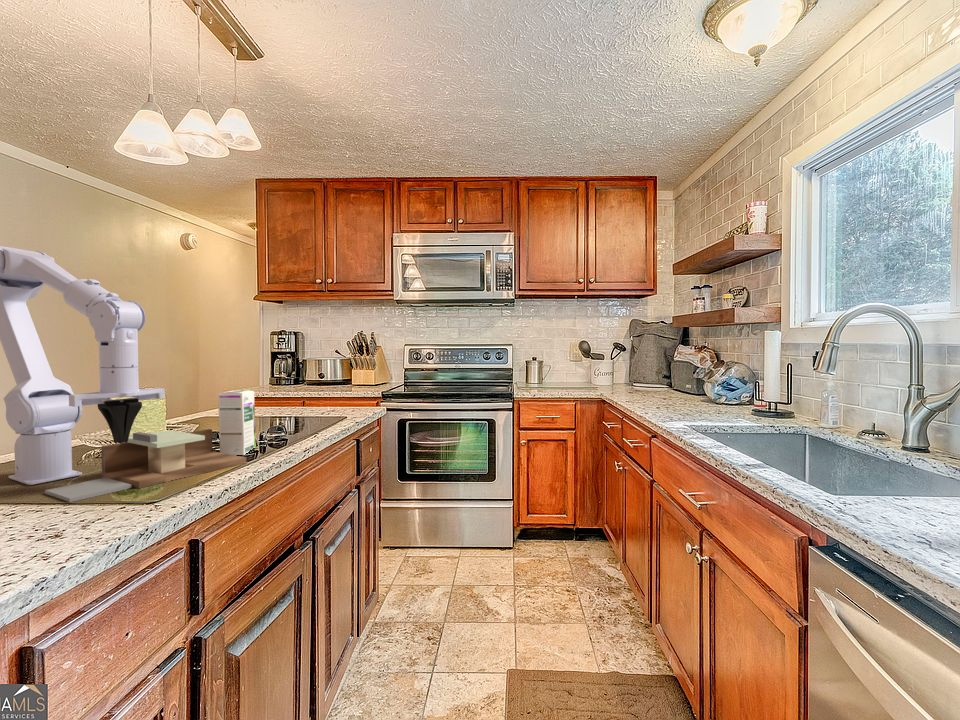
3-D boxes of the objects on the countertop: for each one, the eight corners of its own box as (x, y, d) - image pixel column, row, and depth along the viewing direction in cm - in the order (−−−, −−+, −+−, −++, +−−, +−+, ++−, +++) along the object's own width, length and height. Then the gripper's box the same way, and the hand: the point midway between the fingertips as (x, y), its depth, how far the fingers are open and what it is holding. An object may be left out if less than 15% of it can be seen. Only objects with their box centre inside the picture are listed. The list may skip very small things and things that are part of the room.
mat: (44, 493, 84) (44, 490, 84) (105, 480, 92) (105, 477, 92) (69, 502, 79) (69, 498, 79) (131, 487, 87) (131, 484, 87)
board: (102, 478, 93) (101, 446, 93) (209, 455, 112) (208, 429, 111) (139, 488, 87) (138, 454, 87) (246, 463, 105) (245, 434, 105)
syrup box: (244, 456, 112) (243, 392, 111) (218, 455, 112) (217, 392, 111) (256, 450, 117) (255, 389, 117) (231, 450, 117) (230, 389, 117)
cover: (122, 441, 96) (122, 431, 96) (170, 433, 104) (170, 424, 104) (157, 448, 90) (156, 437, 90) (204, 439, 98) (204, 429, 98)
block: (148, 474, 96) (147, 444, 96) (172, 469, 100) (171, 440, 100) (161, 478, 94) (160, 446, 94) (185, 472, 98) (184, 442, 97)
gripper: (82, 369, 81) (84, 452, 81) (173, 366, 93) (174, 437, 94) (62, 368, 84) (64, 447, 85) (152, 365, 97) (154, 433, 97)
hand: (120, 441), depth 90 cm, fingers closed
